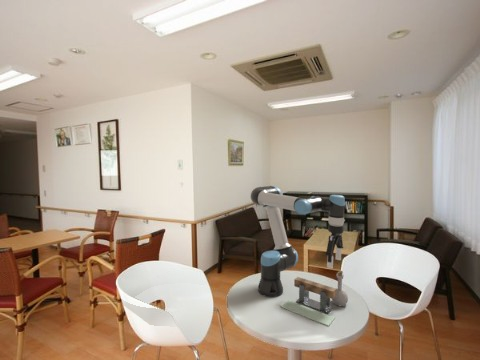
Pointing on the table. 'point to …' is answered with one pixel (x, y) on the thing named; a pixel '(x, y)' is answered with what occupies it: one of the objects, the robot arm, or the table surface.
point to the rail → (315, 287)
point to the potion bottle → (340, 292)
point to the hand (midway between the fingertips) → (334, 263)
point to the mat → (308, 312)
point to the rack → (320, 306)
